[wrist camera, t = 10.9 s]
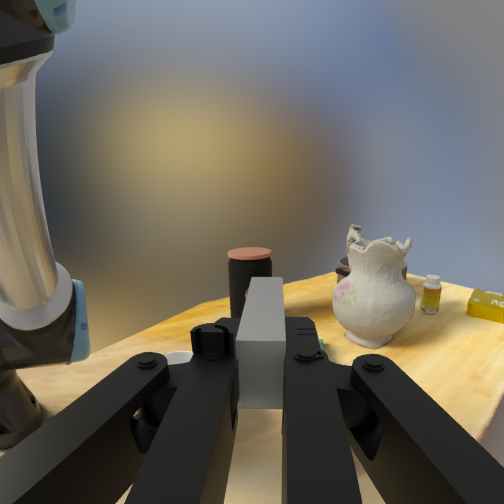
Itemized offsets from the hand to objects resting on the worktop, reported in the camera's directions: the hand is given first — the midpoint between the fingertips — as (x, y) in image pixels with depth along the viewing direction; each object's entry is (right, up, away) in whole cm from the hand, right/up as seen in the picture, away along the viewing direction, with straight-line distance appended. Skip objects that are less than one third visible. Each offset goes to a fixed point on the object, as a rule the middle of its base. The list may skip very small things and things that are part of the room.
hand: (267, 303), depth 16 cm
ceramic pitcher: (+26, -17, +53) cm, 62 cm away
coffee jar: (-1, -15, +65) cm, 67 cm away
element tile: (+69, -15, +55) cm, 90 cm away
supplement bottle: (+49, -14, +62) cm, 80 cm away
